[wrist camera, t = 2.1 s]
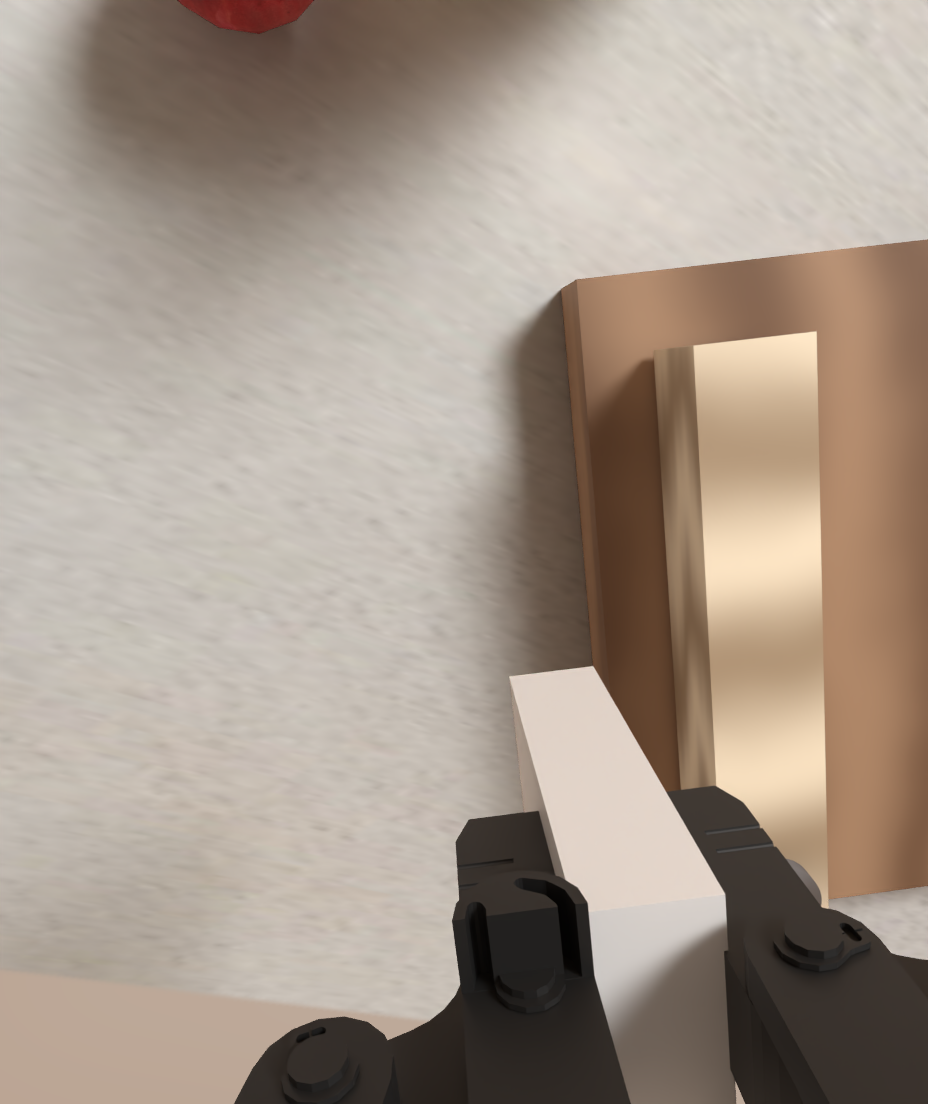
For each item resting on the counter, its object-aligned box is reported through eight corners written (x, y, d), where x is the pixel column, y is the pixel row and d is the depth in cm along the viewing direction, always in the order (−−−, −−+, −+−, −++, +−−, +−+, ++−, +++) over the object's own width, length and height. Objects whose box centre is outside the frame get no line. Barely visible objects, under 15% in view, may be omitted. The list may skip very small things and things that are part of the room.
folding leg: (777, 855, 31) (839, 938, 26) (685, 867, 31) (732, 953, 26) (759, 338, 27) (828, 329, 22) (653, 350, 27) (701, 345, 22)
